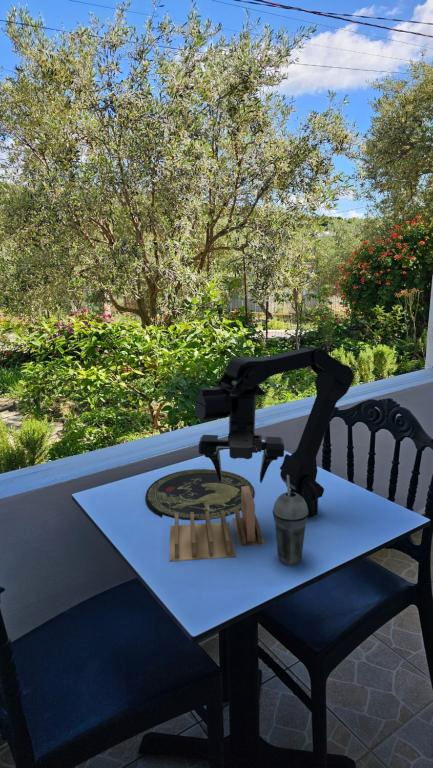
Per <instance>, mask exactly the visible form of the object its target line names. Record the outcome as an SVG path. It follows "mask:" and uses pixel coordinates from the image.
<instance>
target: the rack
mask: <svg viewBox="0 0 433 768" xmlns="http://www.w3.org/2000/svg"><path fill="white" fill-rule="evenodd" d="M205 515H206V520H205V523H195V520H194V512H190V520H189V521H190V524H179V522H180V521H179V520H180V519H178V513H175V518H174V525H170V527H169V529H170V530H169V558H168V559H169V563H170V562H182V561H184V562H185V561H201V560H216V559H217V560H218V559H227V558H228V559H229V558H230V559H231V558H237V554H236V548H235V545H234V540H233V535H232V530H231V527H230V522H229V521H227V518H226V517H225V513H224V510H221V518H220V522H214V523H213V522H211V519H210V516H209V511H205Z"/></svg>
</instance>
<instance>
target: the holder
mask: <svg viewBox="0 0 433 768" xmlns="http://www.w3.org/2000/svg"><path fill="white" fill-rule="evenodd" d="M232 524H233V527H234V533H235V538H236V542H237V546H238V547H250V546H261V545H262V546H263V545H264V546H265V545H266V541H265V538H264V535H263V533H262V530H261V526H260V523H259V520H258V518H257V516H256V514H255V541H249V542H247V540H246V535H245V531H244V528H243V524H242V516H241V513H240V511H239V509H235V515H234V518H232Z"/></svg>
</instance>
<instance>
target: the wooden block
mask: <svg viewBox="0 0 433 768" xmlns="http://www.w3.org/2000/svg"><path fill="white" fill-rule="evenodd" d="M240 512H241V513H240V516H241V518H242V524H243V528H244V531H245V535H246V540H247V542H249V541H255V515H256V503H255V501H254V499H253V497H252V494H251V491H250V488H249V486H243V487H241V511H240Z"/></svg>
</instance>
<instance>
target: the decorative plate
mask: <svg viewBox="0 0 433 768" xmlns="http://www.w3.org/2000/svg"><path fill="white" fill-rule="evenodd" d="M221 472H222V475H221V481H219V478H218V475H217V473H216V470H215V468H213V469H210V468H194V469H186V470H180V471H176V472H173V473H169V474H167V475H164V476H161V477H160V478H159V479H157V480H155V481H154V482H153V483H152V484H151V485H150V486H149V487H148V488H147V490H146V492H145V497H144V498H145V503H146V506H147V508H148V509H149V511H151V512H152V513H153V514H154V515H155V516H159V517H160V518H163V516H165V517H169V518H171V519H175V513H178V520H182V521H190V512H194V521H206V515H205V511H209V516H210V520H217V519H221V510H224V513H225V518H226V517H229V516H232V515H234V514H235V509H239V512H241V487H243V486H249V488H250V491H251V494H252V497H253V500H254V499H255V495H256V492H255V488H254V486H253V484H252V483H251V482H250V481H249V480H248V479H246V478H245V477H243V476H241V475H240V474H237V473H234V472H231V471H227V470H222V469H221Z"/></svg>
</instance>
